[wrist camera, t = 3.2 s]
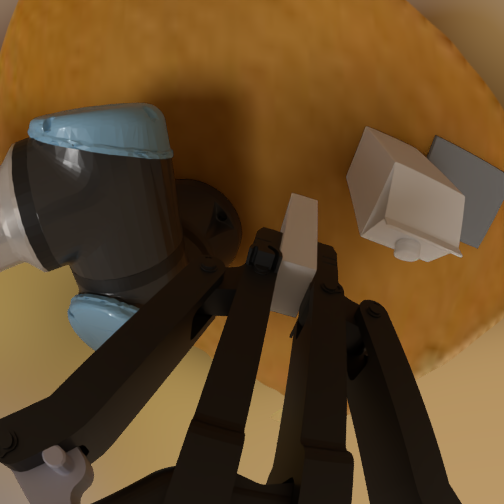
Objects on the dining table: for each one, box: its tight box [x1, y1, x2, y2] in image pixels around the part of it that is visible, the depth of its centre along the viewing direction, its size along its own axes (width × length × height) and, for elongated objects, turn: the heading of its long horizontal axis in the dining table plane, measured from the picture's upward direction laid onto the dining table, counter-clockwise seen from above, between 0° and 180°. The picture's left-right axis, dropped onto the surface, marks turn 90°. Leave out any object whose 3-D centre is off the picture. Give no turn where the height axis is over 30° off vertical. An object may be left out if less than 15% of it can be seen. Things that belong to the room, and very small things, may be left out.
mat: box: [427, 135, 504, 249], centre depth 35 cm, size 14×12×1 cm
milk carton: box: [346, 126, 465, 262], centre depth 28 cm, size 7×7×19 cm
